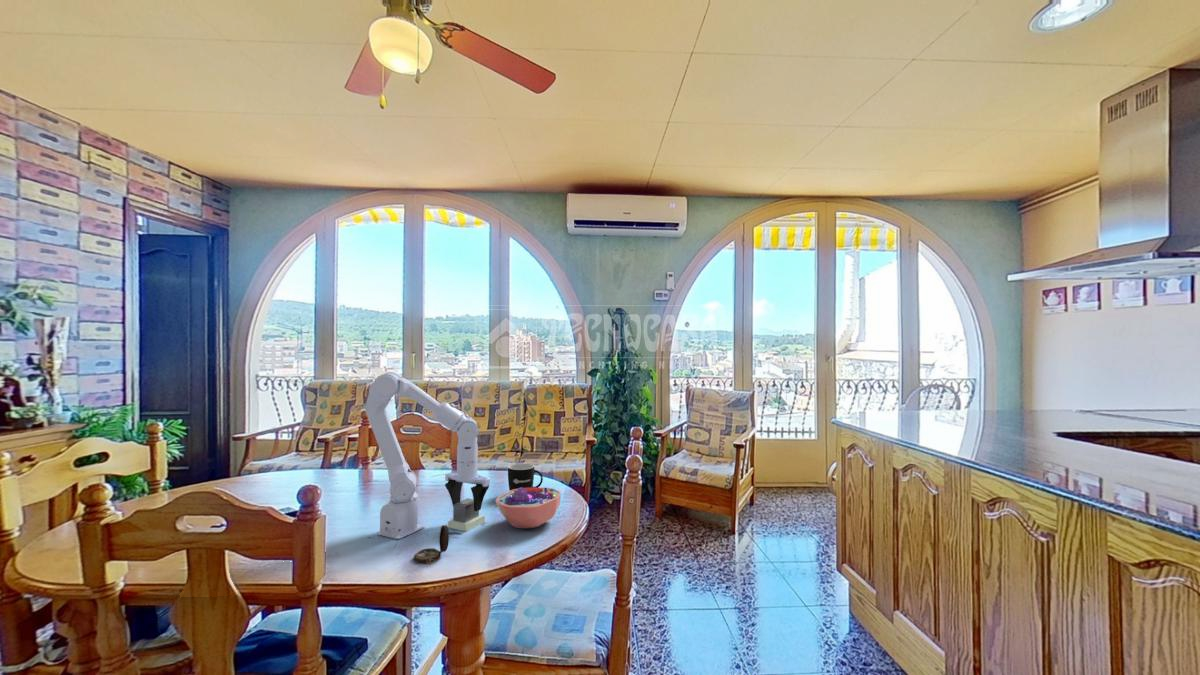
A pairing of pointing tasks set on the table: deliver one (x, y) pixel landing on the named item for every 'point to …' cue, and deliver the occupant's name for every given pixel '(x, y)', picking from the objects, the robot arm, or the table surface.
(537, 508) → the cell model
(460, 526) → the stand
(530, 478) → the mug
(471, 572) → the table surface
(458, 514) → the block
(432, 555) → the compass
